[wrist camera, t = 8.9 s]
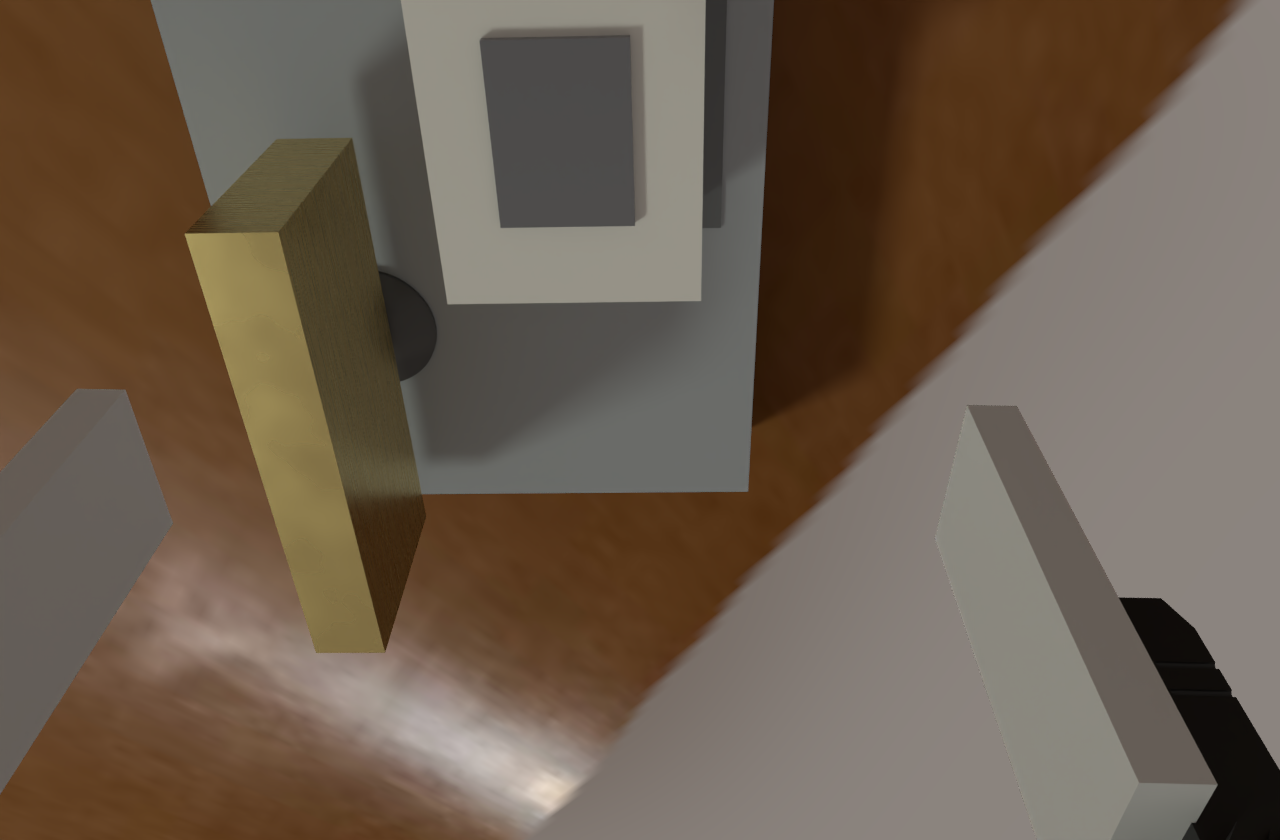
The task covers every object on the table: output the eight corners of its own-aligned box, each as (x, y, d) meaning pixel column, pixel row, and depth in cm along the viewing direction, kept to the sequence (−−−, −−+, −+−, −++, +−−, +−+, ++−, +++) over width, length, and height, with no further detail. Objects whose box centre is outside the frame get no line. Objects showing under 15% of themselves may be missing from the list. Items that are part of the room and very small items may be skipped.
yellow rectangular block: (432, 493, 34) (385, 652, 28) (375, 494, 34) (316, 652, 28) (363, 123, 26) (278, 232, 20) (290, 124, 26) (184, 233, 20)
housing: (323, 436, 37) (293, 498, 34) (170, -153, 26) (105, -140, 23) (741, 433, 37) (748, 495, 34) (768, -168, 26) (783, -157, 22)
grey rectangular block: (485, 205, 28) (446, 308, 23) (447, -110, 23) (387, -69, 18) (693, 202, 28) (701, 305, 23) (696, -116, 23) (707, -77, 18)
